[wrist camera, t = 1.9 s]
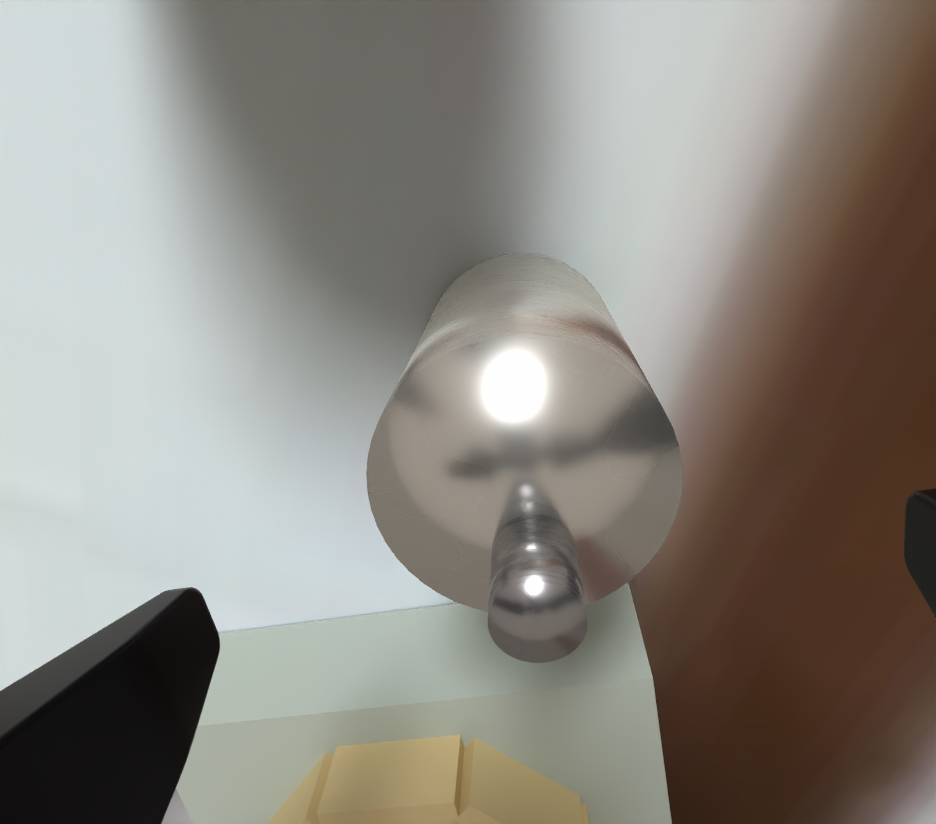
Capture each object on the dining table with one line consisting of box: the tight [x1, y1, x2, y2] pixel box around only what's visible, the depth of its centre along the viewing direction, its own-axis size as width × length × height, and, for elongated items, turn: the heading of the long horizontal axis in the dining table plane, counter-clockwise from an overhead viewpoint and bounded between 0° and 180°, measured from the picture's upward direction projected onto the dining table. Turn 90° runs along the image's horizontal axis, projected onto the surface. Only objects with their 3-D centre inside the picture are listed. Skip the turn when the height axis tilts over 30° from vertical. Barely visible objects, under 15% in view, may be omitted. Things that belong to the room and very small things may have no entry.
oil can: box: [367, 253, 682, 663], centre depth 13 cm, size 5×5×10 cm
